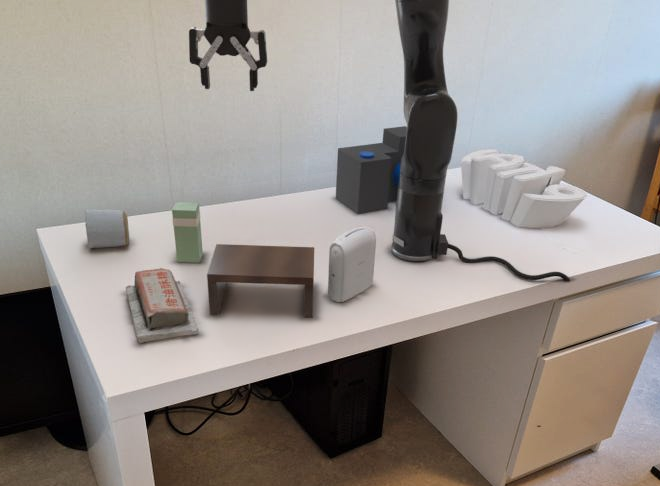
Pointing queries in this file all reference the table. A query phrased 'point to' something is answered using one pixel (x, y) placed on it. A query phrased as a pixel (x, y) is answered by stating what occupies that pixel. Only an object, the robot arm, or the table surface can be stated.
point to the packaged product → (159, 306)
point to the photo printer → (351, 263)
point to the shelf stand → (260, 270)
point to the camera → (370, 172)
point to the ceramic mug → (106, 228)
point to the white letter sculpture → (518, 189)
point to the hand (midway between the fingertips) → (230, 89)
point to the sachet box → (187, 232)
